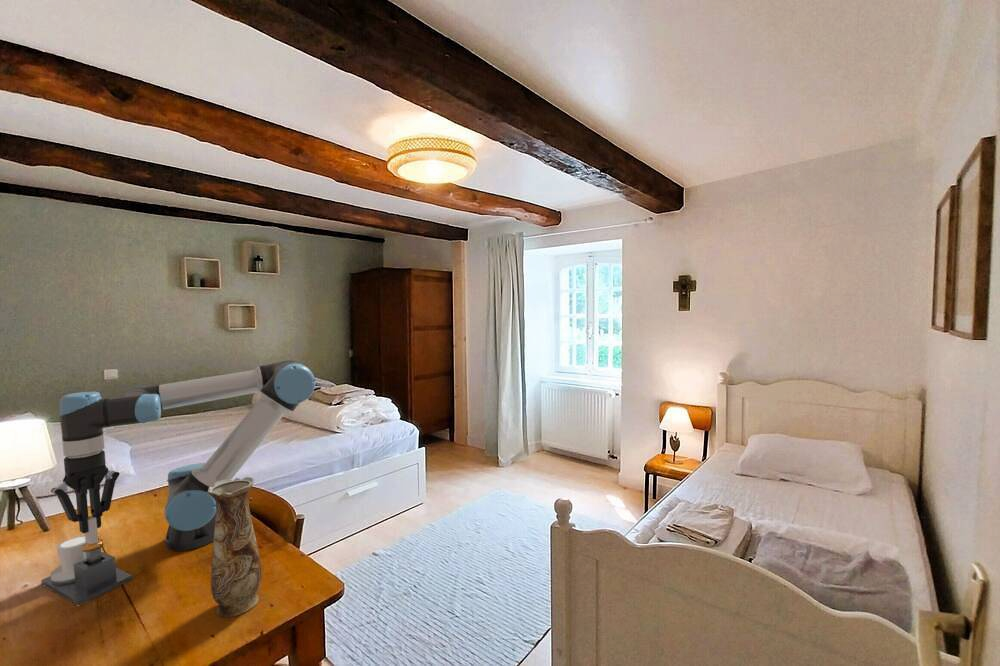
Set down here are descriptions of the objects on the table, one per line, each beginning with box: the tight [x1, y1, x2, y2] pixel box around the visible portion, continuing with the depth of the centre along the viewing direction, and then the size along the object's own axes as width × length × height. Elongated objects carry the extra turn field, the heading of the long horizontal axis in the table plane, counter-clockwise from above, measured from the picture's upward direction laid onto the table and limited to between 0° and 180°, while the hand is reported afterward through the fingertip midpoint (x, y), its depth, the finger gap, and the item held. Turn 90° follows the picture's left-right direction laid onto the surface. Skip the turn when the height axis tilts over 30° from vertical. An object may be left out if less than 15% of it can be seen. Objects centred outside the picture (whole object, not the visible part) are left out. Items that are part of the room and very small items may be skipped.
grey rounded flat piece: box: [50, 565, 75, 585], centre depth 115 cm, size 10×10×2 cm
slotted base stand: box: [40, 551, 133, 606], centre depth 113 cm, size 20×11×7 cm, turn 65°
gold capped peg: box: [82, 538, 104, 566], centre depth 111 cm, size 4×4×8 cm
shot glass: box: [56, 534, 86, 573], centre depth 115 cm, size 7×7×7 cm
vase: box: [207, 476, 262, 618], centre depth 103 cm, size 10×11×30 cm
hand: (91, 542), depth 110 cm, fingers closed
